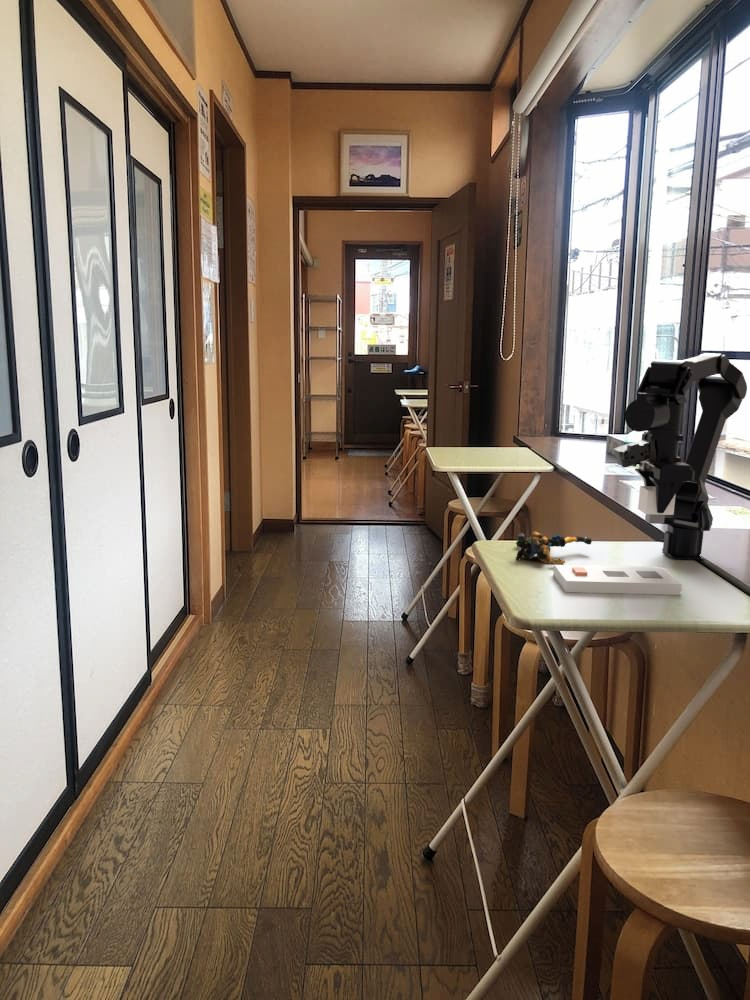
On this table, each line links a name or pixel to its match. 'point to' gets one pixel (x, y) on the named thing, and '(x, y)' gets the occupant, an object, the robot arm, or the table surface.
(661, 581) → the power strip
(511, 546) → the table surface
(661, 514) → the block
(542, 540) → the action figure
